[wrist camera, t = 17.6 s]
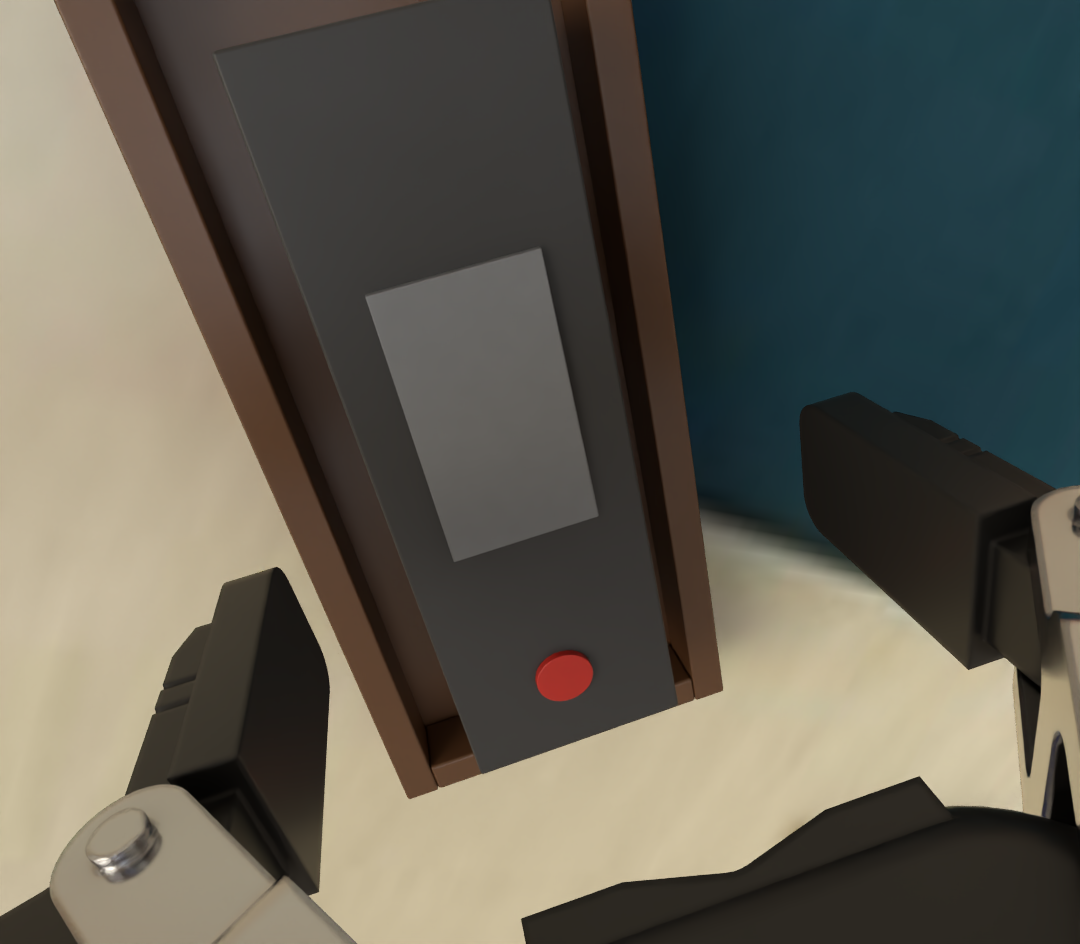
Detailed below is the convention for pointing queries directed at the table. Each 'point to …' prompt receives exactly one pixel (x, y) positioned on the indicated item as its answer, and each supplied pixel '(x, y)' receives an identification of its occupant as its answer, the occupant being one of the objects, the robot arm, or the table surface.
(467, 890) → the table surface
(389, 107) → the remote
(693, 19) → the table surface
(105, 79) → the tray
